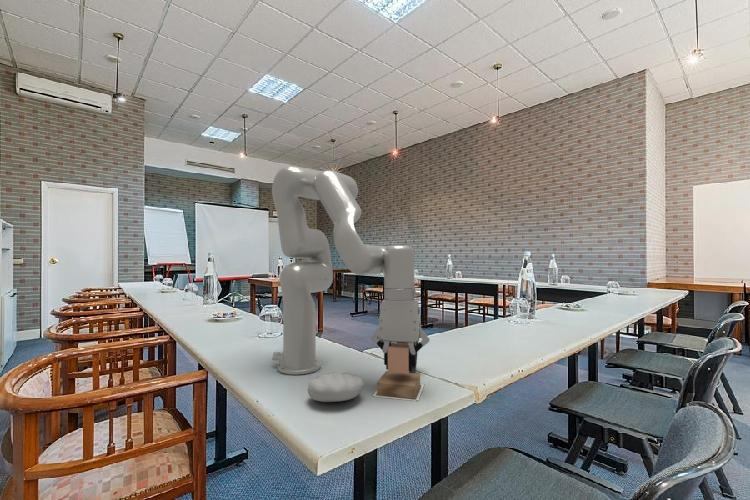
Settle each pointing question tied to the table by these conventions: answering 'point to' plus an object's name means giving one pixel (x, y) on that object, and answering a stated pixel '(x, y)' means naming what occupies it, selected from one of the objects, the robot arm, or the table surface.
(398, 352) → the terracotta block
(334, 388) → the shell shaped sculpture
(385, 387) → the walnut slab
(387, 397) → the pale flat square plate
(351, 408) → the table surface
